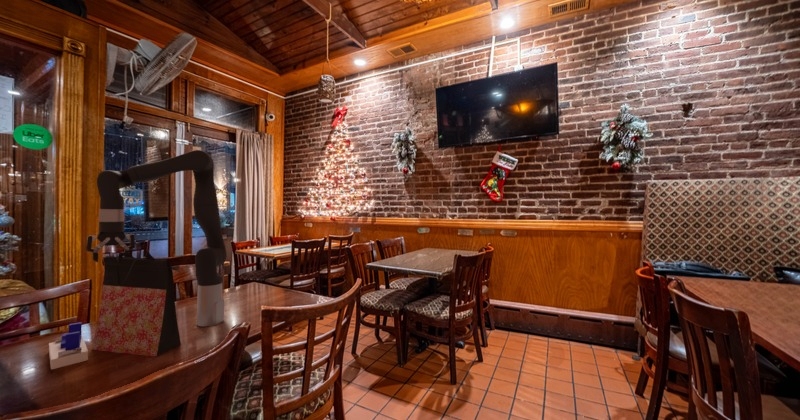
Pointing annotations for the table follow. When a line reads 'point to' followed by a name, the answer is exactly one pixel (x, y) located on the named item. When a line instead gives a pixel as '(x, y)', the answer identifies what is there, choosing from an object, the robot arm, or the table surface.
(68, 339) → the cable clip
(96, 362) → the table surface
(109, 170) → the robot arm
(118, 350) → the gift bag
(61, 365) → the white slotted block
